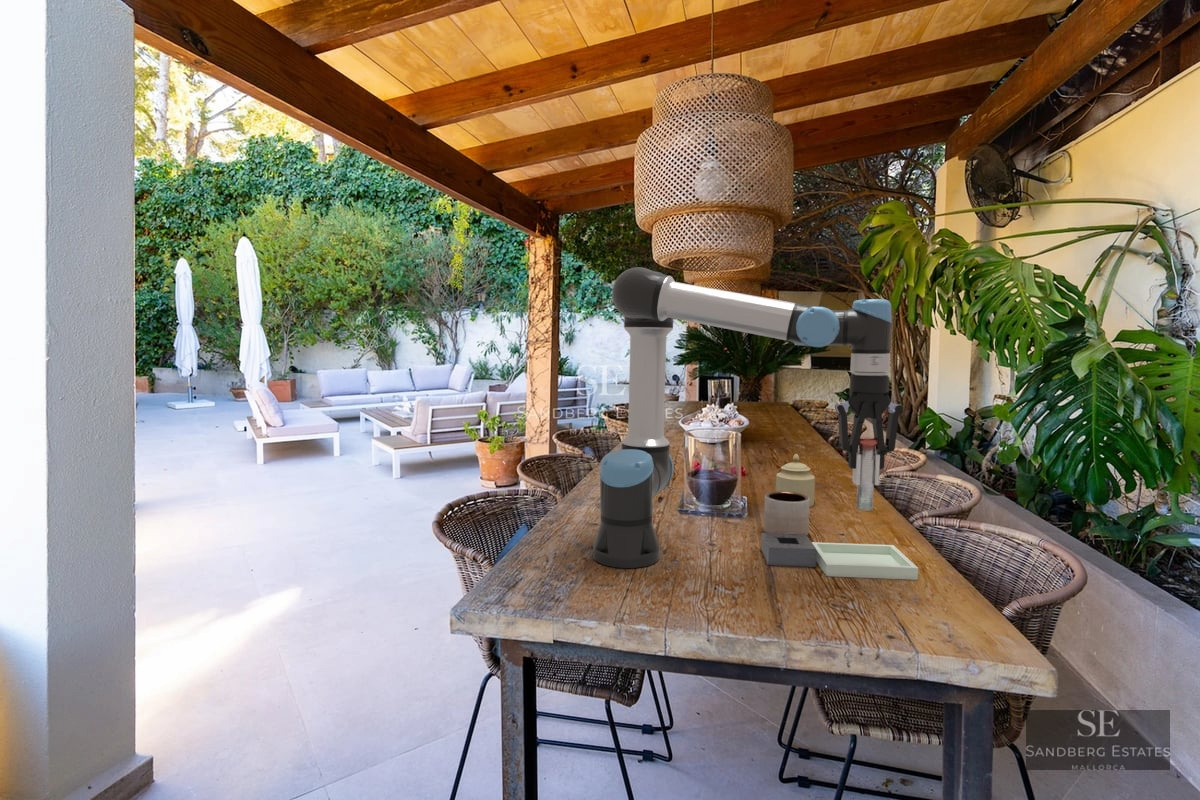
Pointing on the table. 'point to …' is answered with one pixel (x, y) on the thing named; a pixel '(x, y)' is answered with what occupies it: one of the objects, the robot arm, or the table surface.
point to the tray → (864, 561)
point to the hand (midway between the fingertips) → (865, 483)
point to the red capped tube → (866, 473)
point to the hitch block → (788, 550)
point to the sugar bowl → (796, 479)
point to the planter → (786, 513)
